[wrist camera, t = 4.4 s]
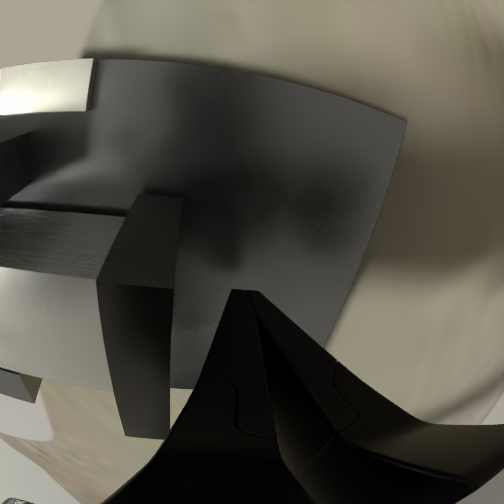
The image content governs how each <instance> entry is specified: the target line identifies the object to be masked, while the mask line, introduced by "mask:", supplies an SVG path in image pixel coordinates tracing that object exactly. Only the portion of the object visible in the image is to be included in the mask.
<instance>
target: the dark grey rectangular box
mask: <svg viewBox="0 0 504 504" xmlns="http://www.w3.org/2000/svg"><path fill="white" fill-rule="evenodd" d="M182 202H183V198H178V197H168V196H158V195H147V194H138V195H137V197H136V199H135V201H134V203H133V204H132V206H131V208H130V210H129V212H128V214H127V216H126V217H118V216H107V215H96V214H84V213H72V212H59V211H46V210H32V209H18V208H3V207H0V367H1V368H5V369H8V370H12V371H15V372H19V373H23V374H27V375H31V376H35V377H39V378H43V379H47V380H52V381H57V382H62V383H67V384H72V385H77V386H83V387H89V388H95V389H101V390H108V391H114V395H115V399H116V403H117V407H118V411H119V415H120V419H121V422H122V426H123V429H124V433H125V436H130V437H139V438H149V439H162V440H165V438H166V436H167V435H168V433H169V431H170V361H171V334H172V314H173V297H174V283H175V270H176V259H177V248H178V238H179V228H180V219H181V210H182Z"/></svg>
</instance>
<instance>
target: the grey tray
mask: <svg viewBox="0 0 504 504" xmlns="http://www.w3.org/2000/svg"><path fill="white" fill-rule="evenodd" d="M406 124H407V122H406V121H403V120H401V119H399V118H396V117H394V116H391V115H389V114H386V113H384V112H381V111H379V110H376V109H374V108H371V107H368V106H366V105H363V104H360V103H357V102H354V101H351V100H349V99H346V98H343V97H339V96H336V95H333V94H330V93H327V92H324V91H320V90H317V89H313V88H310V87H306V86H303V85H299V84H295V83H291V82H287V81H283V80H279V79H275V78H270V77H266V76H261V75H256V74H251V73H246V72H241V71H235V70H229V69H223V68H217V67H210V66H203V65H195V64H186V63H176V62H165V61H150V60H125V59H94V58H91V59H71V60H57V61H47V62H37V63H30V64H23V65H16V66H10V67H4V68H0V207H3V208H18V209H32V210H46V211H59V212H72V213H84V214H96V215H107V216H118V217H126V216H127V214H128V212H129V210H130V208H131V206H132V204H133V203H134V201H135V199H136V197H137V195H138V194H147V195H158V196H168V197H178V198H183V202H182V210H181V219H180V228H179V238H178V248H177V259H176V270H175V283H174V297H173V314H172V334H171V361H170V388H178V389H194V387H195V385H196V383H197V380H198V378H199V376H200V373H201V370H202V367H203V365H204V363H205V360H206V357H207V354H208V351H209V349H210V346H211V343H212V340H213V338H214V335H215V332H216V330H217V327H218V324H219V321H220V319H221V316H222V313H223V310H224V308H225V305H226V302H227V300H228V297H229V294H230V291H231V290H232V289H242V290H257V291H259V292H261V293H262V294H263V295H264V296H265V297H266V298H267V299H269V300H270V301H271V302H272V303H273V304H274V305H275V306H276V307H277V308H279V309H280V310H281V311H282V312H283V313H284V314H285V315H286V316H288V317H289V318H290V319H291V320H292V321H293V322H294V323H295V324H297V325H298V326H299V327H300V328H301V329H302V330H303V331H305V332H306V333H307V334H308V335H309V336H310V337H311V338H312V339H314V340H315V341H316V342H317V343H318V344H319V345H320V346H322V347H323V348H324V346H325V344H326V342H327V340H328V338H329V335H330V333H331V331H332V329H333V327H334V325H335V323H336V320H337V318H338V316H339V314H340V312H341V309H342V307H343V305H344V303H345V300H346V298H347V296H348V293H349V291H350V289H351V286H352V284H353V281H354V279H355V277H356V274H357V272H358V269H359V267H360V264H361V262H362V259H363V257H364V254H365V251H366V249H367V246H368V244H369V241H370V238H371V236H372V233H373V230H374V227H375V225H376V222H377V219H378V216H379V213H380V210H381V207H382V205H383V202H384V199H385V196H386V192H387V189H388V186H389V183H390V180H391V177H392V174H393V170H394V167H395V164H396V160H397V157H398V153H399V150H400V146H401V143H402V139H403V135H404V131H405V128H406ZM41 381H42V378H39V377H35V376H31V375H27V374H23V373H19V372H15V371H12V370H8V369H5V368H1V367H0V393H1V394H4V395H7V396H10V397H13V398H17V399H20V400H23V401H27V402H30V403H35V400H36V397H37V394H38V391H39V387H40V384H41Z"/></svg>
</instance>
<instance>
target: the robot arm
mask: <svg viewBox="0 0 504 504" xmlns="http://www.w3.org/2000/svg"><path fill="white" fill-rule="evenodd" d="M2 504H33V503H30V502H27V501H23V500H20V499H15V498H8V499H6V500H5V501H4V502H3V503H2ZM101 504H504V424H498V425H445V424H432V423H428V422H424V421H421V420H419V419H417V418H415V417H414V416H412V415H410V414H409V413H407V412H406V411H404V410H403V409H401V408H400V407H398V406H397V405H396V404H394V403H393V402H391V401H390V400H388V399H387V398H385V397H384V396H382V395H381V394H380V393H378V392H377V391H375V390H374V389H373V388H371V387H370V386H369V385H367V384H366V383H365V382H363V381H362V380H361V379H359V378H358V377H357V376H356V375H354V374H353V373H352V372H351V371H350V370H348V369H347V368H346V367H345V366H344V365H342V364H341V363H340V362H339V361H338V362H337V359H335V358H334V357H333V356H332V355H331V354H330V353H329V352H327V351H326V350H325V349H324V348H323V347H322V346H320V345H319V344H318V343H317V342H316V341H315V340H314V339H312V338H311V337H310V336H309V335H308V334H307V333H306V332H305V331H303V330H302V329H301V328H300V327H299V326H298V325H297V324H295V323H294V322H293V321H292V320H291V319H290V318H289V317H288V316H286V315H285V314H284V313H283V312H282V311H281V310H280V309H279V308H277V307H276V306H275V305H274V304H273V303H272V302H271V301H270V300H269V299H267V298H266V297H265V296H264V295H263V294H262V293H261V292H259V291H257V290H242V289H232V290H231V291H230V294H229V297H228V300H227V302H226V305H225V308H224V310H223V313H222V316H221V319H220V321H219V324H218V327H217V330H216V332H215V335H214V338H213V340H212V343H211V346H210V349H209V351H208V354H207V357H206V360H205V363H204V365H203V367H202V370H201V373H200V376H199V378H198V380H197V383H196V385H195V387H194V390H193V391H192V393H191V395H190V397H189V399H188V401H187V403H186V405H185V406H184V408H183V410H182V411H181V413H180V415H179V416H178V418H177V420H176V421H175V423H174V425H173V426H172V428H171V430H170V431H169V433H168V435H167V436H166V438H165V440H164V441H163V443H162V444H161V446H160V447H159V449H158V450H157V452H156V453H155V454H154V456H153V457H152V458H151V460H150V461H149V462H148V463H147V464H146V465H145V466H144V467H143V468H142V469H141V470H140V471H138V472H137V473H136V474H135V475H134V476H133V477H132V478H130V479H129V480H128V481H127V482H126V483H125V484H124V485H122V486H121V487H120V488H119V489H118V490H117V491H115V492H114V493H113V494H112V495H111V496H109V497H108V498H107V499H106V500H105V501H103V502H102V503H101Z"/></svg>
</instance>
